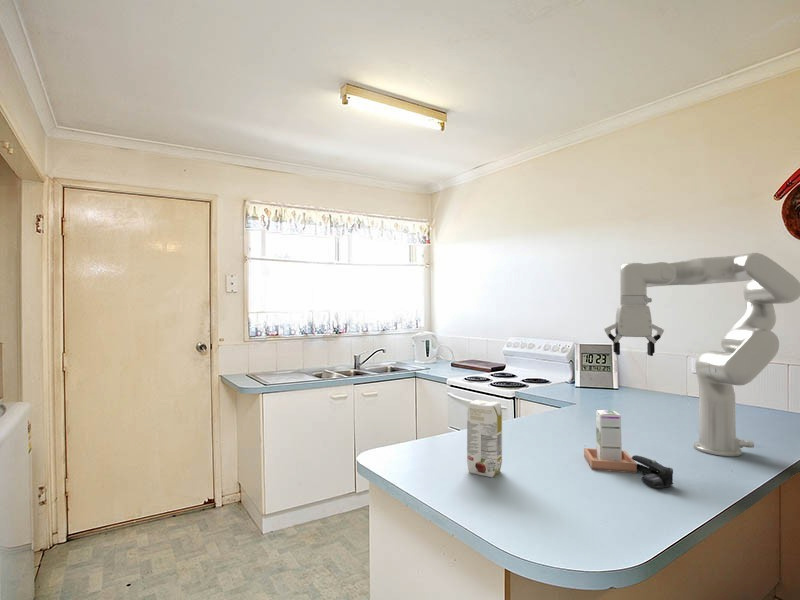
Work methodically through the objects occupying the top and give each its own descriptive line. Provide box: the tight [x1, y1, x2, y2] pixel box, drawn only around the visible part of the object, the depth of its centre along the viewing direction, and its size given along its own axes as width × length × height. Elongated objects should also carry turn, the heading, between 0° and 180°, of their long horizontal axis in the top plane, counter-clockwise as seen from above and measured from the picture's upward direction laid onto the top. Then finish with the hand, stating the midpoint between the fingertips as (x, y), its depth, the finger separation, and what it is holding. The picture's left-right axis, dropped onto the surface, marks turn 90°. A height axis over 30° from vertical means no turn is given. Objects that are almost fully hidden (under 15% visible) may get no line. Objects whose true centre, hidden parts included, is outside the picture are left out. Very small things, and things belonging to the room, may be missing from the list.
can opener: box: [631, 454, 674, 488], centre depth 120 cm, size 18×7×6 cm, turn 175°
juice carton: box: [466, 399, 503, 478], centre depth 124 cm, size 8×9×19 cm
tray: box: [583, 447, 638, 473], centre depth 131 cm, size 12×12×2 cm
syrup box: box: [595, 409, 623, 462], centre depth 131 cm, size 6×6×14 cm
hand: (633, 355), depth 145 cm, fingers open, 9 cm apart
